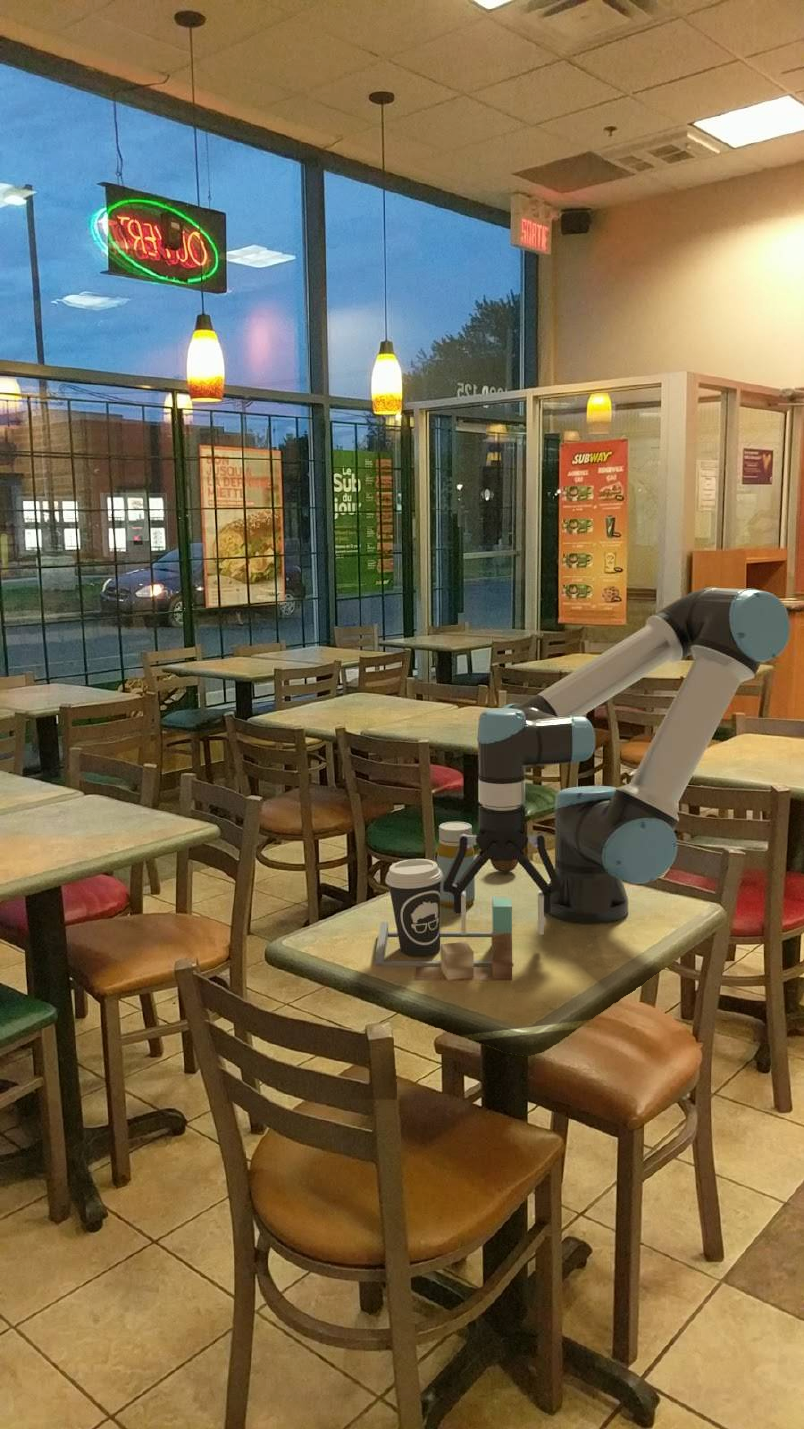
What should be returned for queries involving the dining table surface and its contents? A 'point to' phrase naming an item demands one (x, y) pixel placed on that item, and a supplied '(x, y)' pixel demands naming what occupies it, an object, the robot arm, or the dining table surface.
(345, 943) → the dining table surface
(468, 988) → the dining table surface
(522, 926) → the dining table surface
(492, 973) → the wooden l-shaped block
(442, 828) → the bottle
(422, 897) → the coffee cup
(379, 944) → the grey rectangular frame
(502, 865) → the fruit
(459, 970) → the maple block
